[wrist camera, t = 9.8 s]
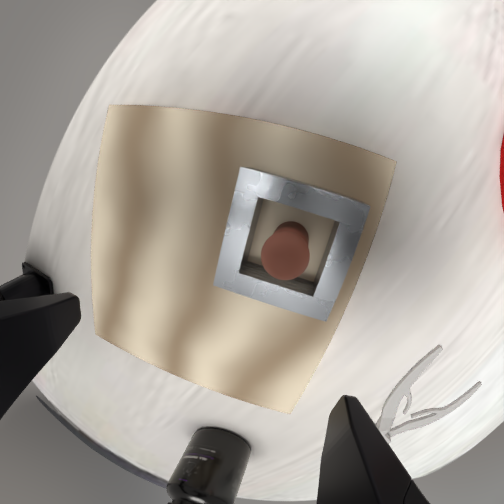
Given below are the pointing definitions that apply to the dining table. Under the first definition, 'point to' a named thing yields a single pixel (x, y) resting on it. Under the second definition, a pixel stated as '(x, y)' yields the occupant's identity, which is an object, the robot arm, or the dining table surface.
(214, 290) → the keeper board
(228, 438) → the supplement bottle
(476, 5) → the dining table surface
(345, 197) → the grey square frame
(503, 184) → the kitchen timer
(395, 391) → the pliers
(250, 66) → the dining table surface
